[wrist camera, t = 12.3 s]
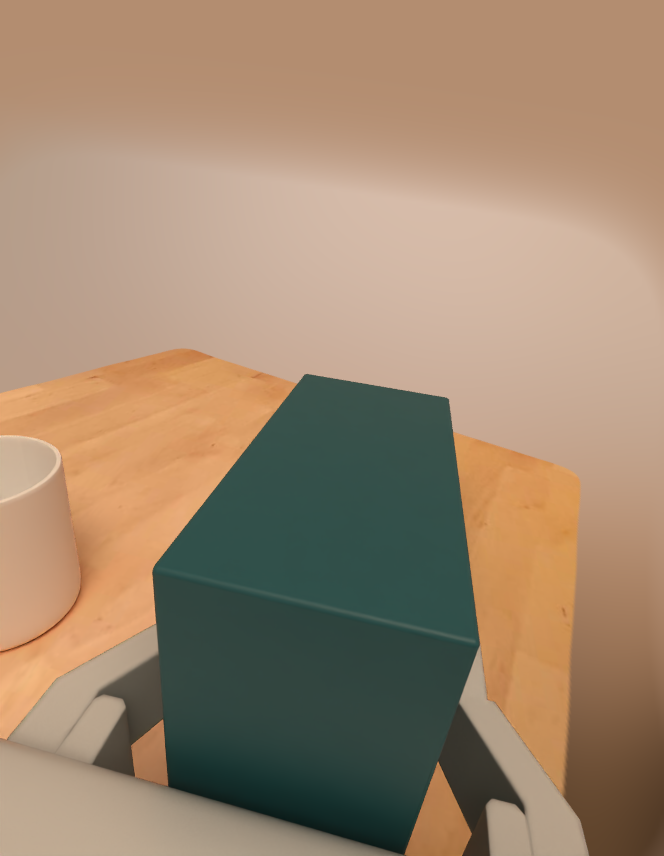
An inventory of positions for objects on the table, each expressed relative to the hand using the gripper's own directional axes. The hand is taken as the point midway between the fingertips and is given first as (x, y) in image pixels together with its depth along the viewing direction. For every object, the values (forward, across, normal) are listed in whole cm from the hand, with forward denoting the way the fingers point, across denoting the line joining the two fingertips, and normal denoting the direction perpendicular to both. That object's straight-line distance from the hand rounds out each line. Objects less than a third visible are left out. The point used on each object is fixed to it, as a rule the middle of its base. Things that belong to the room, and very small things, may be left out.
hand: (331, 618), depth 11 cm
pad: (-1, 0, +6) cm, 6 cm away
